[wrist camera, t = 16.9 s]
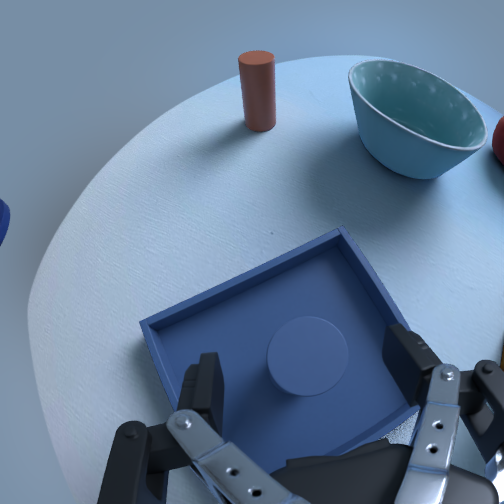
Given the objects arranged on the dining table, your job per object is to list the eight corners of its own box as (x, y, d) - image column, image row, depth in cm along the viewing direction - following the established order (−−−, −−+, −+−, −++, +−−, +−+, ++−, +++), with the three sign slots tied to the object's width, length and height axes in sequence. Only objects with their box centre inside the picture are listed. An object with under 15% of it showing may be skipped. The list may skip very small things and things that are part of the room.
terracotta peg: (253, 135, 32) (247, 67, 24) (240, 119, 33) (232, 55, 25) (281, 126, 32) (281, 59, 24) (266, 110, 34) (263, 47, 26)
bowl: (361, 95, 35) (370, 45, 28) (462, 144, 31) (485, 100, 23) (315, 160, 30) (324, 95, 22) (449, 228, 25) (489, 178, 18)
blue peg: (282, 402, 19) (289, 411, 11) (259, 359, 21) (251, 339, 13) (326, 379, 20) (363, 370, 12) (303, 337, 21) (323, 302, 13)
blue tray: (232, 498, 16) (227, 510, 14) (152, 329, 23) (138, 321, 20) (426, 391, 19) (443, 389, 16) (336, 241, 25) (343, 224, 23)
